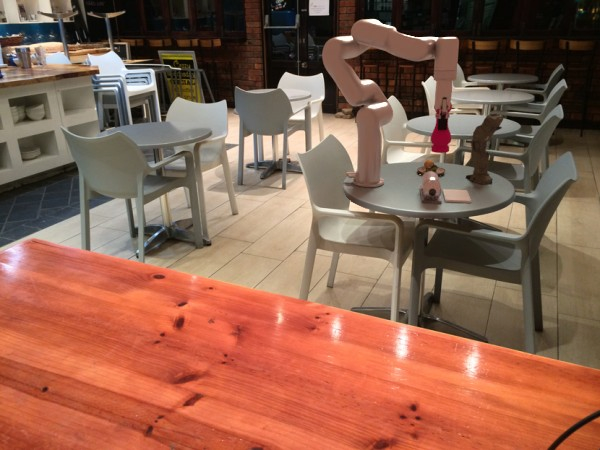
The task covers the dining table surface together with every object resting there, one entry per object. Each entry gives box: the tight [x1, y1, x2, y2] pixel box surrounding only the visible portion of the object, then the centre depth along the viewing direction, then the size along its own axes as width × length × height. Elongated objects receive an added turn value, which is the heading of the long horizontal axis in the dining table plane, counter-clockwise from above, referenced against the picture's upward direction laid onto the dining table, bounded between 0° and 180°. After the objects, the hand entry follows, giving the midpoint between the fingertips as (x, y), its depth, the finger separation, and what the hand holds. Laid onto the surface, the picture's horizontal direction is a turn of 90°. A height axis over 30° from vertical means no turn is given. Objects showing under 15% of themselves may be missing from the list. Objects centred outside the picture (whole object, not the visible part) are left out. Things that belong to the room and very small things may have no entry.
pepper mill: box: [430, 103, 453, 154], centre depth 175 cm, size 7×7×20 cm
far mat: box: [442, 188, 472, 204], centre depth 184 cm, size 9×12×1 cm
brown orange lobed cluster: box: [416, 159, 446, 178], centre depth 211 cm, size 12×12×8 cm
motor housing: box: [419, 171, 443, 205], centre depth 185 cm, size 7×16×7 cm, turn 170°
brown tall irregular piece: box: [465, 112, 504, 185], centre depth 196 cm, size 13×7×29 cm, turn 25°
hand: (441, 127), depth 175 cm, fingers closed on pepper mill, 5 cm apart
